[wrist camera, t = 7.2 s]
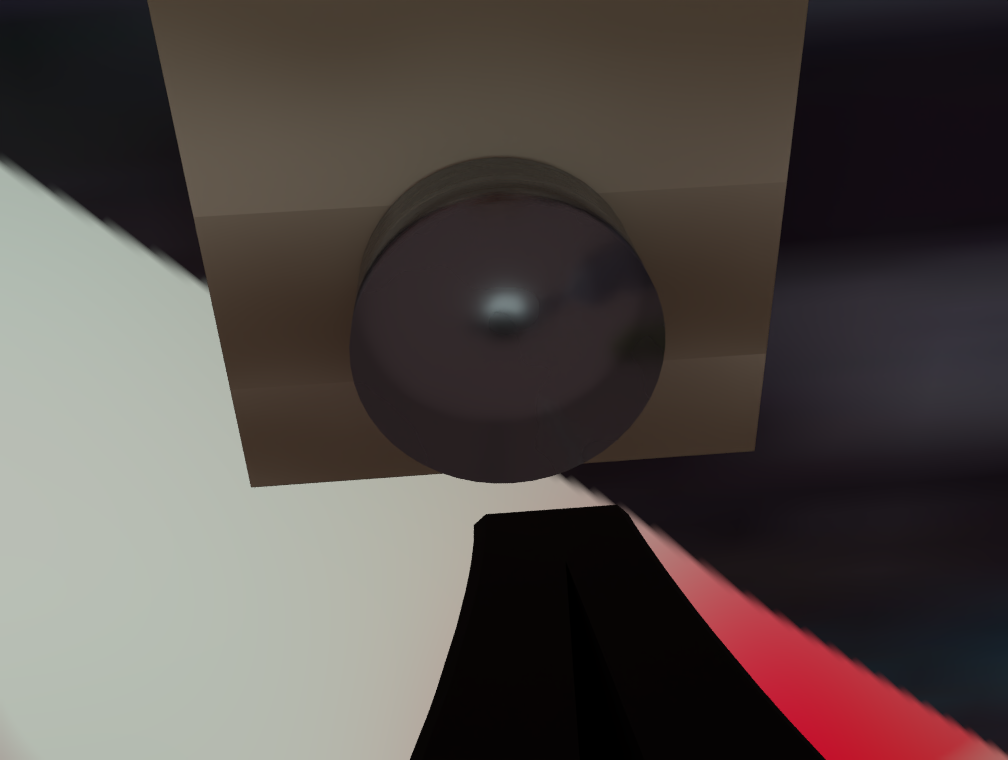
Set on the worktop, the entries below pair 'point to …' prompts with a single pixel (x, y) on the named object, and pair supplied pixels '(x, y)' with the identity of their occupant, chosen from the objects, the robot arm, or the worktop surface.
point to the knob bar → (469, 136)
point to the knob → (504, 323)
